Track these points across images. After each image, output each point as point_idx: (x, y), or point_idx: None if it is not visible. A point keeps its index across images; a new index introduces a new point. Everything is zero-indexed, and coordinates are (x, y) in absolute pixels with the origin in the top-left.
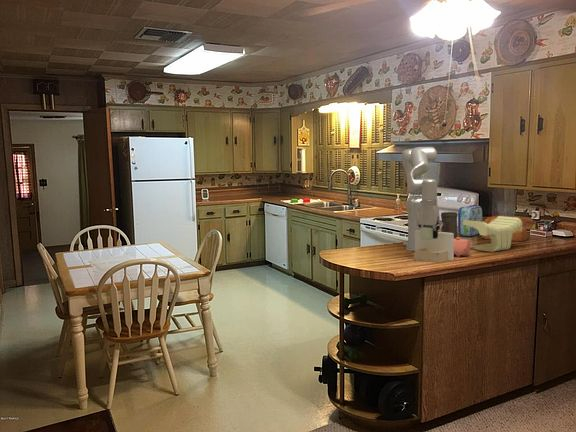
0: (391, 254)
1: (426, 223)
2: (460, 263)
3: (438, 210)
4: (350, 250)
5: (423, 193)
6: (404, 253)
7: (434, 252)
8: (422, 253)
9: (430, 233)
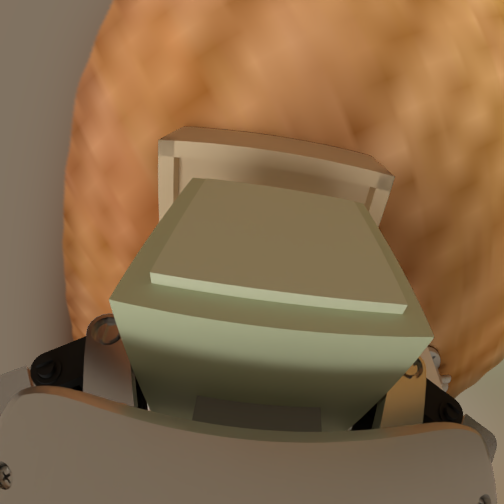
0: (493, 247)
1: (272, 477)
2: (88, 186)
3: None
4: None
5: None
6: (444, 294)
7: (194, 150)
8: (312, 152)
9: (167, 225)
